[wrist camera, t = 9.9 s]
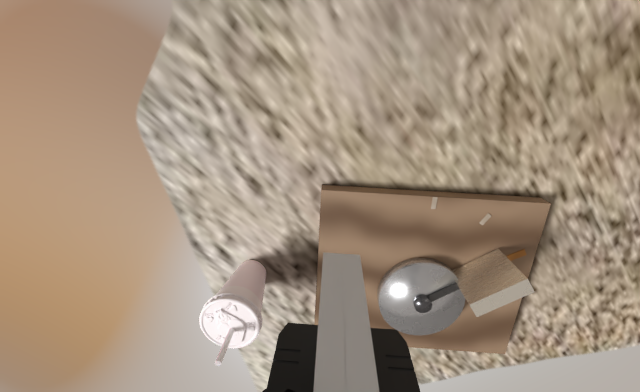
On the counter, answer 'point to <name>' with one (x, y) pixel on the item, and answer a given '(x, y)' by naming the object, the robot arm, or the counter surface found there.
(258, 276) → the smoothie
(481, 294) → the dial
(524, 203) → the panel
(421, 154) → the counter surface
